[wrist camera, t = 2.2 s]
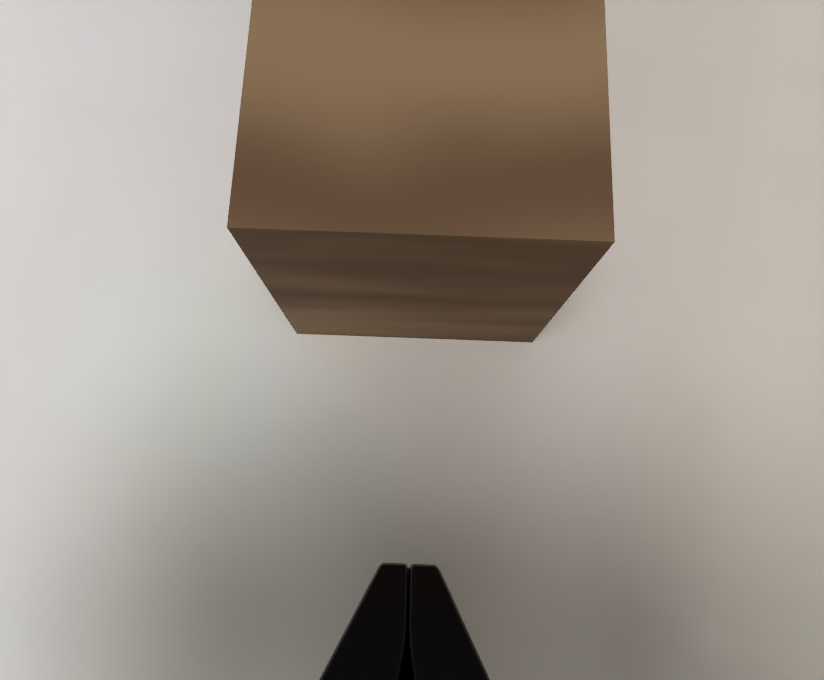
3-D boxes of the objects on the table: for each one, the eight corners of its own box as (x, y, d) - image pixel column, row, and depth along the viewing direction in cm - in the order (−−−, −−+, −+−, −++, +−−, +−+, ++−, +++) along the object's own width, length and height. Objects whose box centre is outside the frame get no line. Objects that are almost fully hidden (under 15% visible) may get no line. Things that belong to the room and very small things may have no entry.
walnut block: (531, 342, 22) (614, 241, 13) (297, 334, 22) (227, 227, 13) (528, -3, 25) (593, -266, 17) (325, -11, 25) (283, -279, 17)
